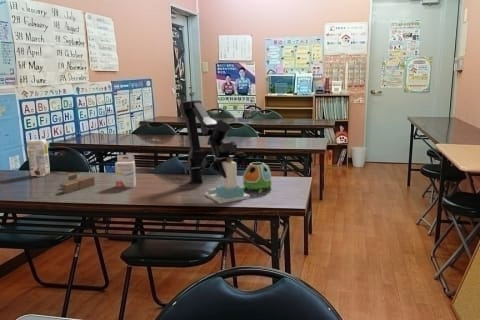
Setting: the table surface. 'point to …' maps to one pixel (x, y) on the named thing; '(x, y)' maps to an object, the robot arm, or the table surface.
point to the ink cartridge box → (125, 171)
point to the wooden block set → (77, 183)
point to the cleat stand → (226, 194)
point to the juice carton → (38, 157)
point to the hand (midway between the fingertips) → (230, 176)
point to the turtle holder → (257, 176)
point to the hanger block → (229, 174)
